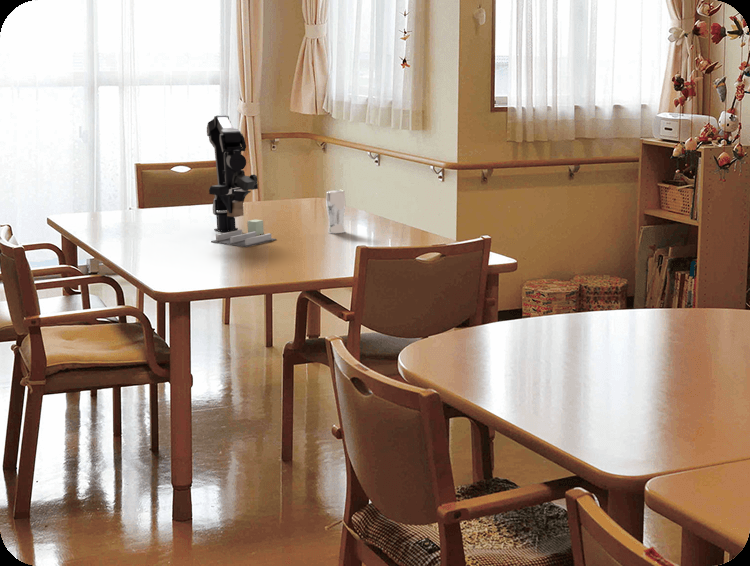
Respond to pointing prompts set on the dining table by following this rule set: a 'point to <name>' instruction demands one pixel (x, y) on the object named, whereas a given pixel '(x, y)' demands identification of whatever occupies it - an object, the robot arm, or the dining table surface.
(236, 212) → the walnut block
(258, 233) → the sage block
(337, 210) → the white tall carton
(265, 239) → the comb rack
